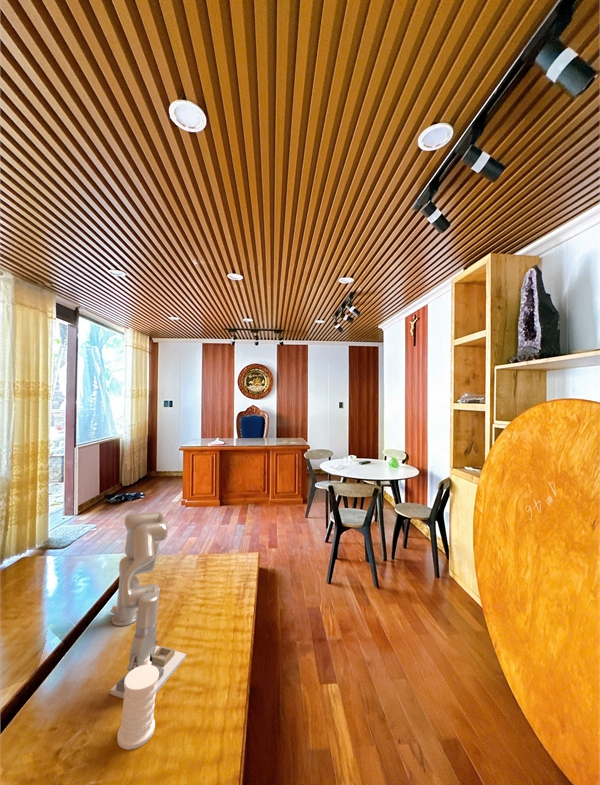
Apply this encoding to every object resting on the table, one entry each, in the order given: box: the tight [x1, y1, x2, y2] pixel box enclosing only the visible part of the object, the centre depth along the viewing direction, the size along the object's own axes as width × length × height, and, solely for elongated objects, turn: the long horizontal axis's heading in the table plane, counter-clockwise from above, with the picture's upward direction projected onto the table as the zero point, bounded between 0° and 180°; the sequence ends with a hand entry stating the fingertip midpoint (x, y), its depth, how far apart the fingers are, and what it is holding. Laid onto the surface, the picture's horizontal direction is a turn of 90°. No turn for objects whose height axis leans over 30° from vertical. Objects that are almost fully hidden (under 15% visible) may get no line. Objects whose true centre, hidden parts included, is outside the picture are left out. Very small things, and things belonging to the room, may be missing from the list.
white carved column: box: [116, 665, 159, 750], centre depth 113 cm, size 12×12×18 cm
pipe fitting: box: [134, 655, 152, 668], centre depth 131 cm, size 6×7×8 cm
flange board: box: [109, 645, 187, 700], centre depth 137 cm, size 16×26×4 cm, turn 166°
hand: (141, 674), depth 131 cm, fingers closed on pipe fitting, 6 cm apart
